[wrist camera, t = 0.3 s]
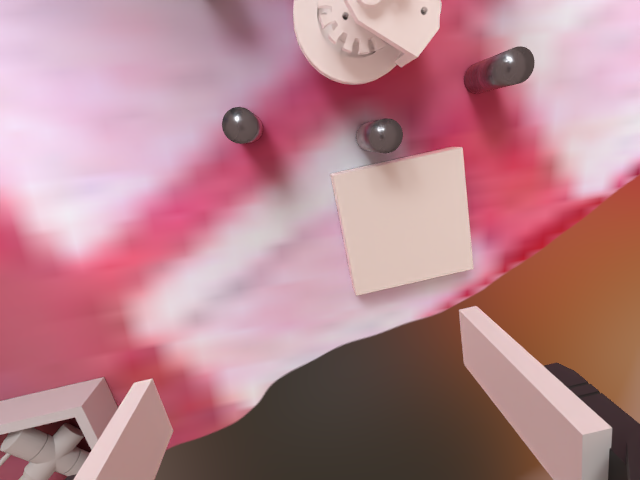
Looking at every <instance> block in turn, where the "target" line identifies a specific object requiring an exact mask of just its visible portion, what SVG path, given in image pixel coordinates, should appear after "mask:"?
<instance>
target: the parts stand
mask: <svg viewBox="0 0 640 480" xmlns="http://www.w3.org/2000/svg"><path fill="white" fill-rule="evenodd" d="M330 176H331V181H332V186H333V191H334V196H335V201H336V206H337V211H338V216H339V221H340V226H341V231H342V236H343V241H344V246H345V251H346V256H347V261H348V266H349V271H350V276H351V281H352V286H353V289H354V291H355V294H356V296H358V295H362V294H367V293H371V292H375V291H380V290H384V289H388V288H393V287H397V286H401V285H406V284H410V283H414V282H419V281H423V280H428V279H432V278H436V277H441V276H445V275H449V274H454V273H458V272H462V271H467V270H471V269H473V258H472V247H471V235H470V224H469V213H468V202H467V191H466V180H465V169H464V158H463V147H449V148H444V149H440V150H435V151H431V152H426V153H421V154H417V155H412V156H408V157H403V158H399V159H394V160H390V161H385V162H381V163H376V164H372V165H367V166H363V167H358V168H354V169H349V170H345V171H340V172H336V173H331V174H330Z"/></svg>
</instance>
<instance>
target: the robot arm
mask: <svg viewBox="0 0 640 480" xmlns="http://www.w3.org/2000/svg"><path fill="white" fill-rule="evenodd" d="M459 316H460V327H461V338H462V348H463V359H464V365H465V366H466V368H467V369H468V370H469V371H470V373H471V374H472V375H473V377H474V378H475V379H476V380H477V382H478V383H479V384H480V386H481V387H482V388H483V389H484V391H485V392H486V393H487V395H488V396H489V397H490V398H491V400H492V401H493V402H494V404H495V405H496V406H497V408H498V409H499V410H500V411H501V413H502V414H503V415H504V417H505V418H506V419H507V420H508V422H509V423H510V424H511V426H512V427H513V428H514V429H515V431H516V432H517V433H518V435H519V436H520V437H521V439H522V440H523V441H524V442H525V444H526V445H527V446H528V448H529V449H530V450H531V452H532V453H533V454H534V455H535V457H536V458H537V459H538V461H539V462H540V463H541V464H542V466H543V467H544V468H545V469H546V471H547V472H548V473H549V475H550V476H551V477H552V478H553V480H640V424H639V423H637V422H636V421H635V420H634V419H633V418H632V417H630V416H629V415H628V414H627V413H625V412H624V411H623V410H622V409H621V408H619V407H618V406H617V405H616V404H614V403H613V402H612V401H611V400H609V399H608V398H607V397H606V396H605V395H603V394H602V393H601V394H600V392H599V391H598V390H597V389H596V388H595V387H593V386H592V385H591V384H588V382H587V381H586V380H585V379H584V378H583V377H581V376H580V375H579V374H578V373H576V372H575V371H574V370H571V369H569V368H567V367H565V366H563V365H561V364H559V363H554V364H549V365H545V366H543V365H541V364H540V363H539V362H538V361H537V360H536V359H535V358H534V357H533V356H531V355H530V354H529V353H528V352H527V351H526V350H525V349H524V348H523V347H522V346H520V345H519V344H518V343H517V342H516V341H515V340H514V339H513V338H511V337H510V336H509V335H508V334H507V333H506V332H505V331H504V330H503V329H501V328H500V327H499V326H498V325H497V324H496V323H495V322H494V321H493V320H491V319H490V318H489V317H488V316H487V315H486V314H485V313H483V312H482V311H481V310H480V309H479V308H478V307H477V306H474V307H470V308H465V309H461V310H459ZM172 433H173V429H172V426H171V424H170V421H169V419H168V416H167V414H166V411H165V409H164V406H163V404H162V401H161V399H160V396H159V394H158V391H157V389H156V386H155V384H154V381H153V379H148V380H144V381H139V382H135V383H134V384H133V385H132V387H131V388H130V390H129V392H128V393H127V395H126V396H125V398H124V400H123V401H122V403H121V404H120V406H119V408H118V409H117V411H116V412H115V414H114V416H113V417H112V419H111V420H110V422H109V424H108V425H107V427H106V428H105V430H104V432H103V433H102V435H101V436H100V438H99V439H98V441H97V443H96V444H95V446H94V447H93V449H92V451H91V452H90V454H89V455H88V457H87V459H86V460H85V462H84V463H83V465H82V467H81V468H80V470H79V471H78V473H77V474H75V475H71V476H68V477H67V478H66V479H65V480H154V479H155V476H156V474H157V471H158V469H159V466H160V464H161V460H162V458H163V456H164V453H165V451H166V448H167V446H168V443H169V440H170V438H171V435H172Z"/></svg>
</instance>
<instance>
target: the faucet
mask: <svg viewBox="0 0 640 480" xmlns="http://www.w3.org/2000/svg"><path fill="white" fill-rule="evenodd" d="M83 437H84V434H83V432H82V431H81V430H79V429H78V428H76V427H74V426H73V425H71V424H69V423H64V424H63V425H62V426H61V427H60V428H59V429H58V431H57V432H56V433H55V434H54V435H53V436H51V435H49V434H46V433H44V432H42V431H39V430H37V429H35V428H33V427H32V428H27V429H23V430H19V431H15V432H10V433H9V434H8V436H7V437H6V438H5V440H4V441H3V443H2V445H1V448H0V450H1V451H3V452H5V453H6V454H5V455H4V456H3V457H2V459H1V460H0V466H1V465H2V464H3V463H4V462H5V461H6V460H7V459H8V458H9V456H10V455H13V456H16V457H18V458H21V459H24V460H26V461H29V464H28V465H27V466H26V467H25V468H24V473H23V475H22V477H21V478H20V479H19V480H48V479H49V478H50V476H51V475H52V474H53V473H54V472H58V473H61V474H63V475H66V476H71V475H75V474H77V473H78V471H79V470H80V468H81V467H82V465H83V463H84V462H85V460H86V459H87V457H88V455H89V454H90V452H87V451H85V450H83V449H80V448H78V447H76V445H77V444H78V443H79V442H80V441H81V439H82V438H83Z"/></svg>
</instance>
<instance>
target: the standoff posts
mask: <svg viewBox="0 0 640 480" xmlns="http://www.w3.org/2000/svg"><path fill="white" fill-rule="evenodd" d="M533 68H534V57H533V54H532V53H531V51H530V50H529V49H527V48H525V47H515V48H512V49H510V50H507V51H505V52H503V53H500V54H498V55H495V56H493V57H490V58H488V59H485V60H483V61H480V62H478V63H475V64H473V65H471V66H470V67H469V68H468V69H467V71H466V73H465V76H464V83H465V86H466V88H467V89H468V90H469V91H470V92H472V93H481V92H485V91H489V90H494V89H498V88H502V87H506V86H510V85H514V84H519V83H522V82H524V81H525V80H527V79H528V78H529V76H530V75H531V73H532V71H533ZM222 127H223V131H224V133H225V135H226V136H227V138H229V139H230V140H231V141H233V142H235V143H240V144H242V143H252V142H255V141H257V140H258V139H259V138H260V137H261V135H262V132H263V125H262V122H261V120H260V119H259V118H258V117H257V116H256V115H255V114H253V113H252V112H250V111H249V110H247V109H245V108H242V107H235V108H232V109H230V110H229V111H228V112H227V113H226V114H225V115H224V117H223V121H222ZM402 137H403V132H402V129H401V126H400V125H399V124H398V123H397V122H396V121H395V120H393V119H381V120H376V121H371V122H367V123H364V124H362V125H361V126H360V127H359V128H358V130H357V133H356V141H357V144H358V145H359V147H360V148H362V149H364V150H366V151H373V152H380V153H390V152H393V151H394V150H396V149H397V148H398V147H399V145H400V144H401V141H402Z"/></svg>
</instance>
